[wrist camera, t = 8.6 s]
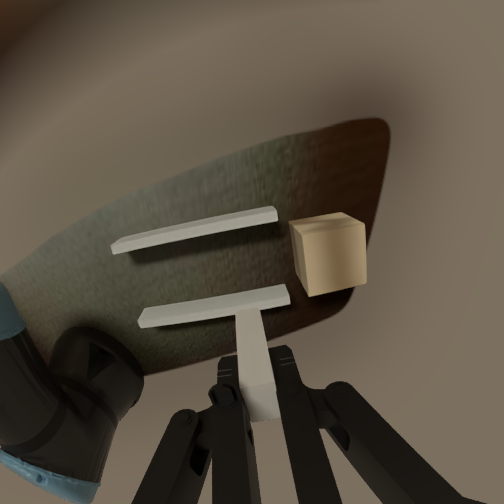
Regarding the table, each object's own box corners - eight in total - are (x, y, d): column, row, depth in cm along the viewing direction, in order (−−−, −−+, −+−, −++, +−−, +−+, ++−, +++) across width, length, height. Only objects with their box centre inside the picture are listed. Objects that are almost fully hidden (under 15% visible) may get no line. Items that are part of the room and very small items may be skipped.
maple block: (295, 272, 31) (309, 296, 25) (288, 221, 29) (302, 235, 23) (344, 262, 31) (366, 283, 25) (341, 212, 29) (364, 224, 23)
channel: (147, 315, 31) (140, 328, 28) (121, 237, 28) (110, 245, 25) (285, 291, 31) (290, 303, 28) (272, 205, 28) (276, 210, 25)
